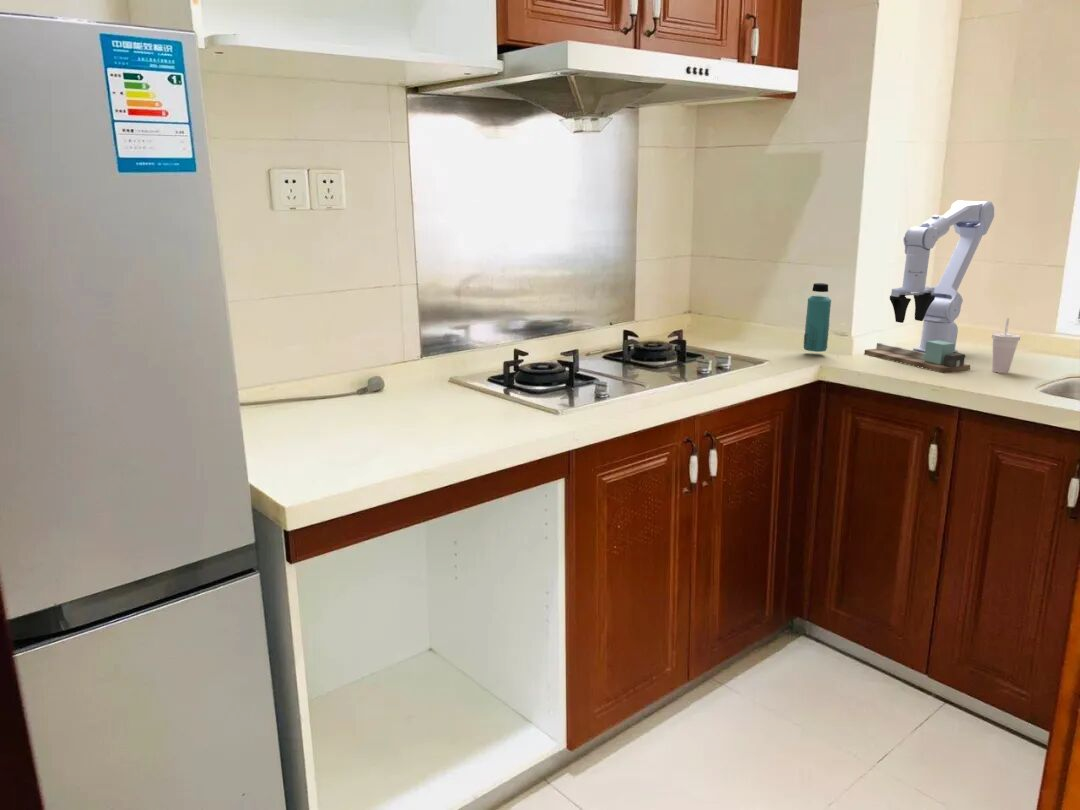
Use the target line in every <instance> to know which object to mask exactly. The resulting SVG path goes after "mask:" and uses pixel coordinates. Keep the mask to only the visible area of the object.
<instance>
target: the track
mask: <svg viewBox="0 0 1080 810" xmlns="http://www.w3.org/2000/svg"><path fill="white" fill-rule="evenodd" d="M863 354H864V355H867V356H870V357H875V358H879V357H880V359H883V358H884V359H883V360H887V359H889V360H888V361H891V360H894V361H893V362H896V361H898V362H897V363H900V362H902V363H901V364H904V363H906V364H905V365H908V364H910V366H912V365H914V367H917V366H919V367H918V368H921V367H923V368H922V369H925V368H927V369H926V370H929V369H931V370H930V371H933V370H935V371H934V372H937V371H939V372H938V373H942V372H943V374H945V372H948V373H953V372H952V371H955V372H962V371H961V370H963V371H969V370H968V369H970V370H971V366H972V365H971V364H967V363H965V359H966V354H965V353H960V352H957V353H956V352H953V354H946V355H945V357H944V364H936V363H932V362H927V361H924V356H925V352H923V351H919V350H914V349H909V348H905V347H904V348H903V347H900V346H896V345H892V344H891V345H890V344H886V343H883V342H882V343H881V342H877V343H876V348H870V349H865V350H864V352H863Z"/></svg>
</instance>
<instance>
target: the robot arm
mask: <svg viewBox="0 0 1080 810" xmlns="http://www.w3.org/2000/svg"><path fill="white" fill-rule="evenodd" d="M994 217H995V206H994V204H993V202H992V201H990V200H985V201H982V200H981V201H980V200H979V201H977V200H975V201H974V200H961V199H959V200H958V199H957V200H956V201H955V202H952V204H951V207H950V209H949V210H948V211H946V212H945V213H944V214H943V215H939V214H934V215H932V216H931V218H929V219H928V220H926V221H924V222H921V224H920V225H918V226H912V227H910V228H908V229H907V230H906V232H905V233H904V237H903V246H904V254H905V263H904V272H903V279H902V286H901V287H896V288H891V292H890V293H891V294H890V295H889V300H890V302H891V304H892V308H893V312H894V319H895V322H896V323H900V324H901V323H902V324H903V323H904V321H905V320H906V319H905V318H906V313H907V309H908V307H909V304H910V303H911V300H912V299H911V298H909V297H906V296H913V299H914V307H915V309H914V321H919V322H922V330H921V335H920V336H921V338H920V345H919V346H916V347H912V350H914V351H919V352H923V353H925V349H926V342H927V341H936V340H940V341H945V342H950V343H955V345H954V352H953V353H956V352H957V353H958V349H956V346H957V341H958V333H959V328H958V325H957V323H956V322H955V321H956V319H957V318H958V317H959V316H960V313H961V308H962V304H963V302H964V300H963V297H962V295H961V294H960V293H959V291H958V290H959V287H960V285H961V284H962V281H963V279H964V277H965V274H966V273H967V270H968V268H969V266H970V264H971V261H972V259H973V258H974V255H975V253H976V251H977V249H978V247H979V244H980V242H981V240H982V237H983V236H985V235H987V233H988V231H989V229H990V227H991V225H992V222H993V221H994ZM950 227H953V229H954V232H955V233H956V234H958V235H959V236H960V237H959V239H958V241H957V244H956V246H955V249H954V251H953V252H952V255H951V257H950V259H949V262H948V263H947V266H946V267H945V270H944V271H943V275H942V276H941V278H940V280H939V282H938V284H937V285H935V286H926V285H927V276H928V268H929V262H930V261H929V260H930V255H931V254H930V253H931V249H933V248H934V247H935V246H936V243H937V241H938V240H939V239H940V238H941V237H943V236H945V235H946V234H948V233H949V231H950Z"/></svg>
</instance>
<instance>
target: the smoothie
mask: <svg viewBox="0 0 1080 810" xmlns="http://www.w3.org/2000/svg"><path fill="white" fill-rule="evenodd" d="M1009 323H1010V318H1009V317H1007V318H1006V321H1005V327H1004V332H994V333H992V336H991V338H992V363H991V364H992V366H991V367H992V368H991V369H992V370H991V371H992V372H993V371H994V372H993V373H996V372H998V373H997V374H1009V373H1008V372H1010V369H1011V365H1012V362H1013V360H1014V357H1015V353H1016V349H1017V347H1018V343H1019V342H1020V340H1021V335H1019V334H1014V333H1008V330H1009V329H1008V328H1009Z"/></svg>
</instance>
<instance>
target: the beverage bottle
mask: <svg viewBox="0 0 1080 810" xmlns="http://www.w3.org/2000/svg"><path fill="white" fill-rule="evenodd" d="M812 292H817V293H829V284H828V283H822V282H820V283H819V282H817V283H813V286H812ZM831 305H832V299H831V298H830V297H829V296H828V295H824V294H813V295H811V296H809V297H808V299H807V306H806V315H805V316H806V317H805V325H804V327H805V328H804V334H803V335H804V336H803V349H804V350H805V351H808V352H817V353H818V352H820V353H821V352H826V351H827V349H828V341H829V332H830V331H829V329H830V326H831V325H830V318H831V317H830V315H831V307H832V306H831Z"/></svg>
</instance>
